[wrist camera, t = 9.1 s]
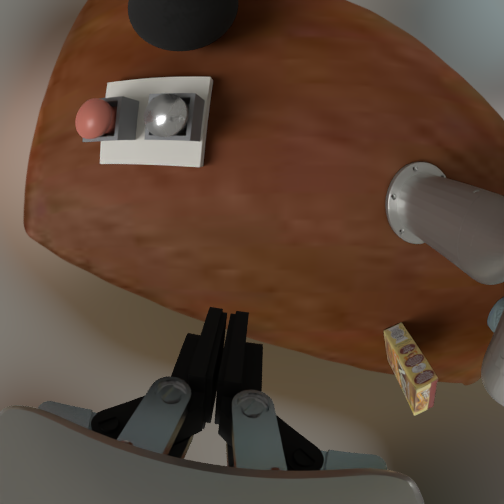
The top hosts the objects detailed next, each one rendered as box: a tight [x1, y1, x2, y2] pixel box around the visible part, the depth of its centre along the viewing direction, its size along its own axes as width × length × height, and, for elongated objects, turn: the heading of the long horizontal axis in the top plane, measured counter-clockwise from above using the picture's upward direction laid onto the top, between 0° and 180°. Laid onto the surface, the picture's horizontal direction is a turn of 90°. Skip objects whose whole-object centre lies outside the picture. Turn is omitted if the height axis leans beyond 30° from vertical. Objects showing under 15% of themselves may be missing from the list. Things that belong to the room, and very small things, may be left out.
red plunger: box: [76, 98, 117, 139], centre depth 26 cm, size 5×5×6 cm
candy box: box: [384, 323, 438, 415], centre depth 38 cm, size 9×4×15 cm, turn 24°
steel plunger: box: [144, 93, 189, 137], centre depth 27 cm, size 5×5×6 cm
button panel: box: [83, 77, 213, 167], centre depth 29 cm, size 15×12×7 cm
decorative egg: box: [128, 0, 238, 51], centre depth 20 cm, size 12×12×15 cm
